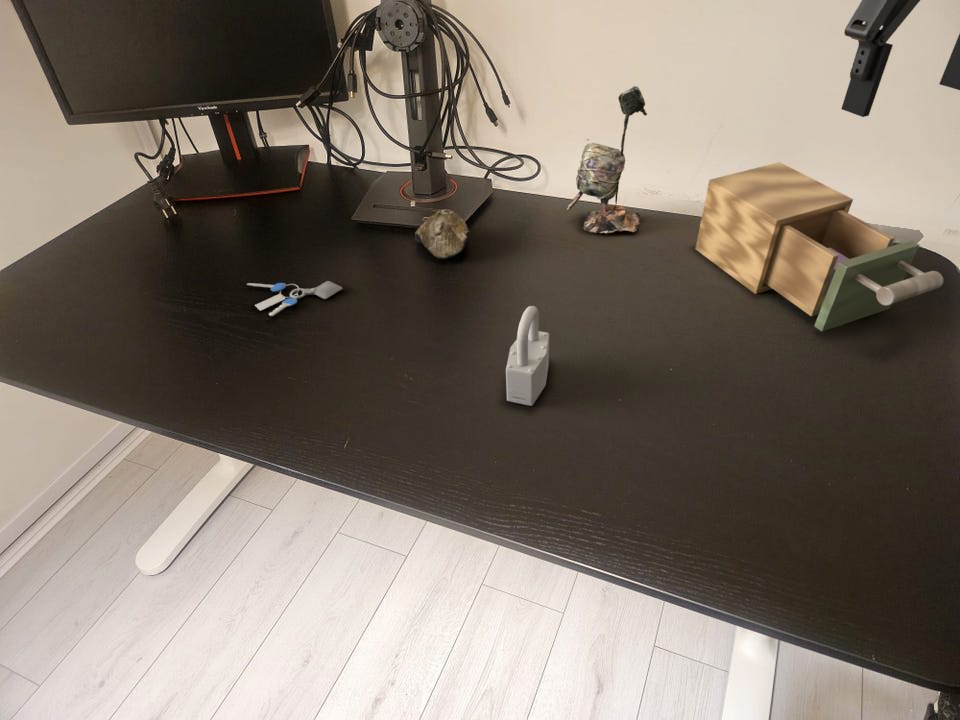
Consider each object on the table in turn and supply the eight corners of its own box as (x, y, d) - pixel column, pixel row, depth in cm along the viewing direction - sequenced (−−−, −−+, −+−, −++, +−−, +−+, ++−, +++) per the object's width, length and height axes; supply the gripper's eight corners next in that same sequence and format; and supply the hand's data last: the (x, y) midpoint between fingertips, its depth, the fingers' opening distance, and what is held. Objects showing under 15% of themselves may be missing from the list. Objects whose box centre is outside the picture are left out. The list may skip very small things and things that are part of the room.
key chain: (345, 283, 86) (344, 278, 86) (333, 318, 80) (332, 313, 80) (249, 285, 87) (247, 280, 87) (229, 321, 81) (227, 315, 80)
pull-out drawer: (926, 331, 70) (961, 266, 65) (856, 357, 68) (886, 291, 62) (817, 262, 82) (838, 202, 76) (753, 282, 80) (771, 221, 74)
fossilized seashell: (482, 243, 88) (465, 222, 96) (454, 209, 84) (439, 190, 93) (443, 277, 89) (429, 253, 97) (413, 244, 85) (402, 223, 94)
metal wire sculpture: (579, 206, 100) (586, 76, 87) (647, 218, 96) (666, 84, 82) (560, 228, 95) (564, 95, 82) (632, 243, 90) (648, 104, 77)
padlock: (520, 360, 72) (519, 289, 65) (553, 366, 71) (555, 295, 64) (501, 401, 67) (498, 329, 60) (537, 408, 66) (538, 336, 59)
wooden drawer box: (826, 272, 82) (853, 199, 75) (755, 294, 79) (777, 220, 72) (760, 230, 91) (779, 161, 84) (695, 249, 88) (709, 179, 81)
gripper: (934, -157, 44) (840, 136, 58) (1160, -185, 50) (1026, 86, 64) (849, -156, 49) (782, 112, 63) (1063, -181, 55) (959, 68, 69)
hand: (905, 99), depth 64 cm, fingers open, 13 cm apart
